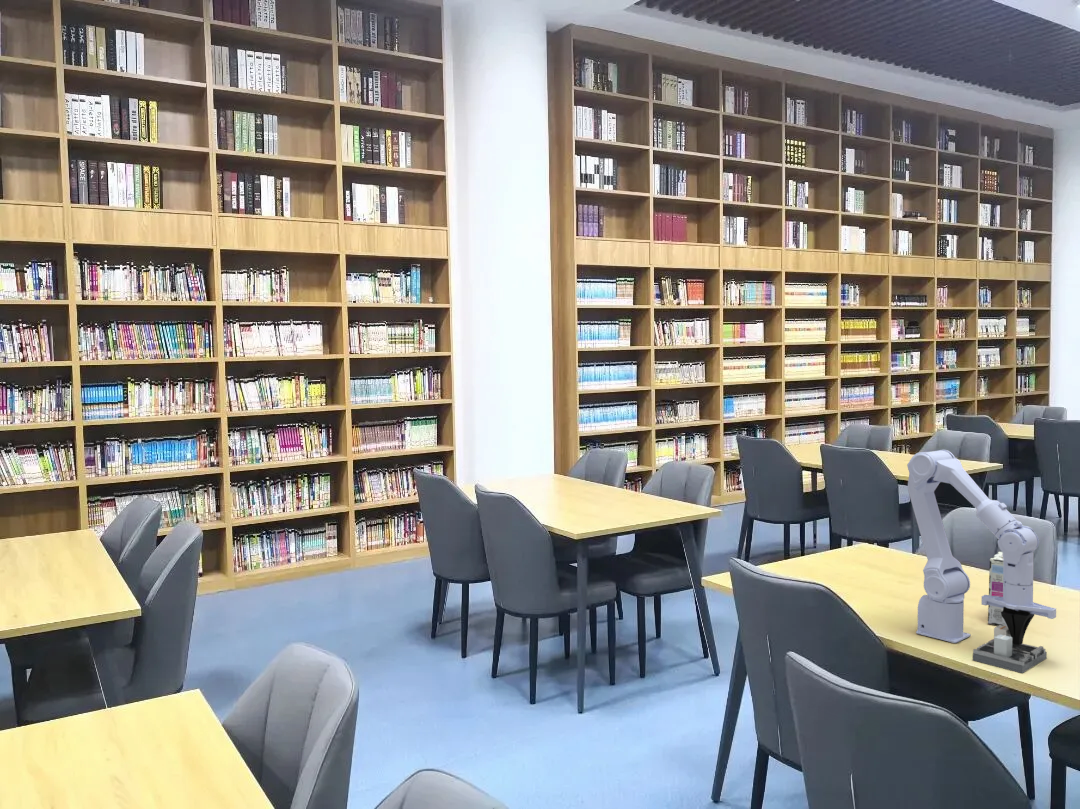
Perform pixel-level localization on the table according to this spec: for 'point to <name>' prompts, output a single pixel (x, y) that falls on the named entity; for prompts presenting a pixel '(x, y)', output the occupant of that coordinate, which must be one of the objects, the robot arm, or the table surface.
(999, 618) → the candy bar box
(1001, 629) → the fader
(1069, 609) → the table surface
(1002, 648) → the block
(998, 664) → the grey divided tray
